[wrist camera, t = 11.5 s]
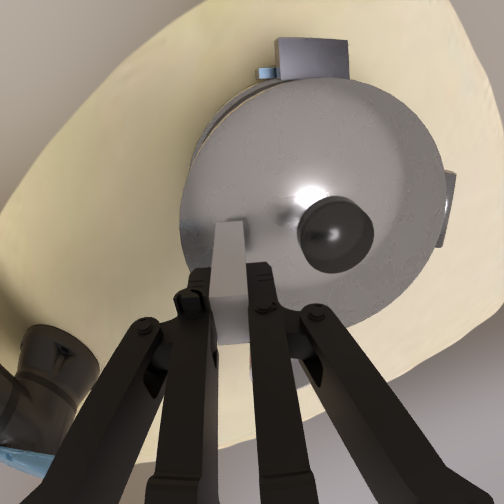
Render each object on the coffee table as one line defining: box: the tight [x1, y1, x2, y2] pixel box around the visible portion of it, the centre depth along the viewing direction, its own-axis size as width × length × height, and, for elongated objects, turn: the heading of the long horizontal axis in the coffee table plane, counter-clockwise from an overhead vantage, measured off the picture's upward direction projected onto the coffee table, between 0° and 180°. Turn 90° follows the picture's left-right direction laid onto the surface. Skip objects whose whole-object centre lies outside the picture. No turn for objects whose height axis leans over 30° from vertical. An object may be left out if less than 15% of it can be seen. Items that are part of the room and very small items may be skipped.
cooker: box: [189, 38, 350, 171], centre depth 25 cm, size 20×23×12 cm
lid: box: [179, 78, 456, 328], centre depth 19 cm, size 20×18×4 cm
